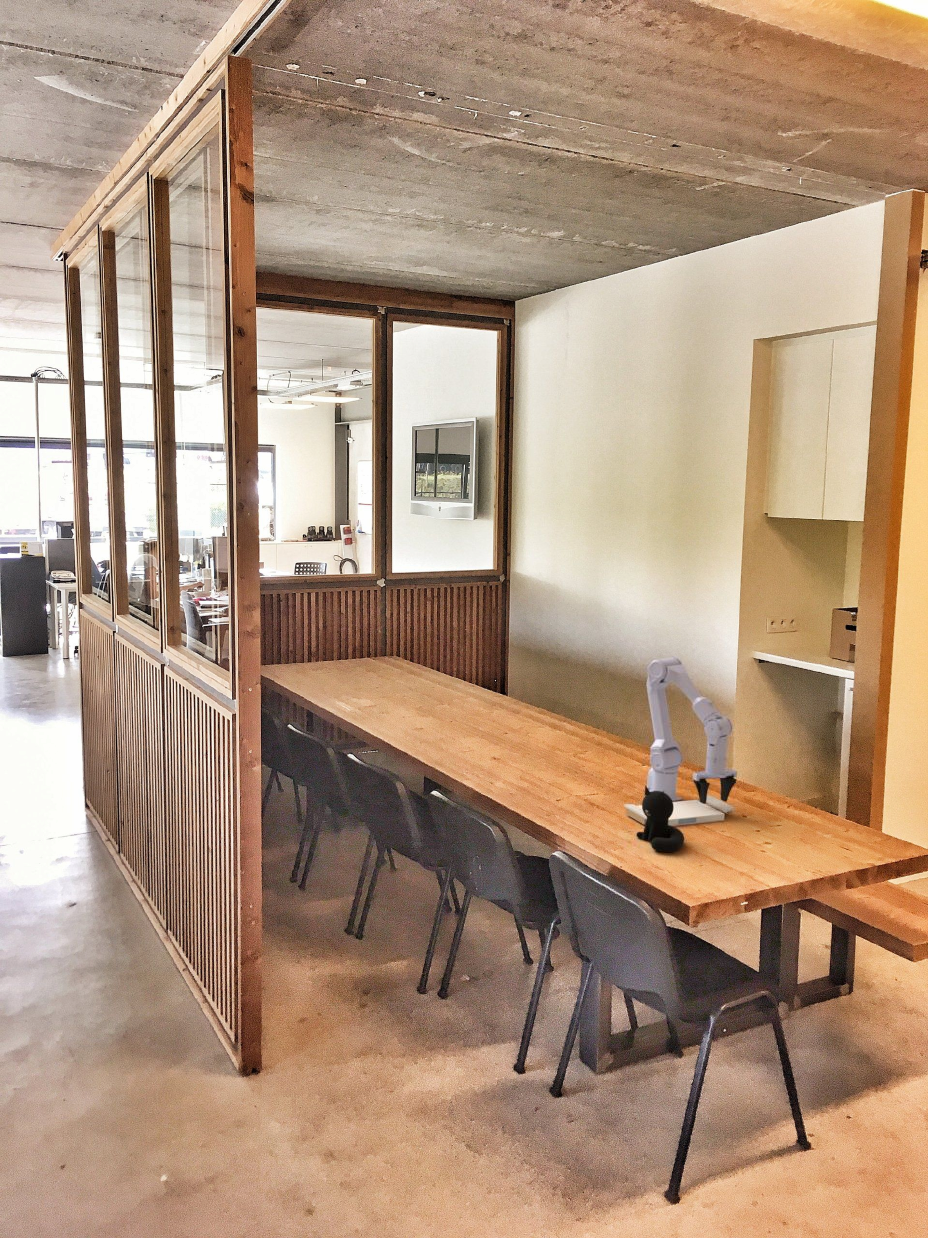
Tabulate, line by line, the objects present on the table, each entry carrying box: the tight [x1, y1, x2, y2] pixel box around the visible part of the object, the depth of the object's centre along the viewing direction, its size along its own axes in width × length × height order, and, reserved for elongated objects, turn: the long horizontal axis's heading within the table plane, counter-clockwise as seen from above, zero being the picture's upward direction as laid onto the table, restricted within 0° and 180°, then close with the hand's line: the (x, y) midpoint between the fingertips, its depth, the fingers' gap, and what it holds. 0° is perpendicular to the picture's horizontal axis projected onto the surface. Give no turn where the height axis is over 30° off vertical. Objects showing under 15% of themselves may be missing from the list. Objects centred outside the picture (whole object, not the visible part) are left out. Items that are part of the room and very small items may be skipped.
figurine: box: [636, 784, 685, 853], centre depth 276 cm, size 16×14×15 cm
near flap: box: [623, 803, 647, 826], centre depth 295 cm, size 13×4×2 cm, turn 22°
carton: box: [637, 799, 725, 827], centre depth 300 cm, size 14×22×2 cm, turn 112°
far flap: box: [698, 794, 736, 815], centre depth 305 cm, size 13×4×2 cm, turn 22°
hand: (713, 801), depth 305 cm, fingers open, 7 cm apart
